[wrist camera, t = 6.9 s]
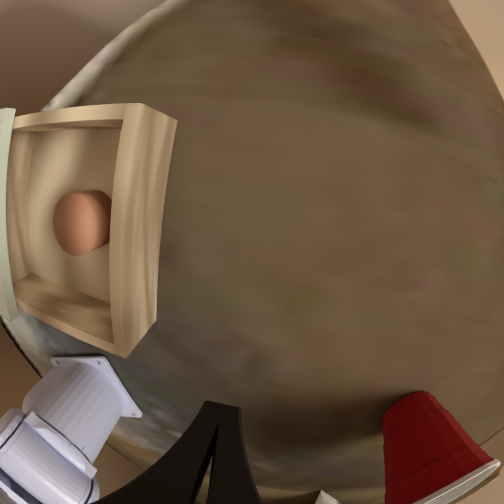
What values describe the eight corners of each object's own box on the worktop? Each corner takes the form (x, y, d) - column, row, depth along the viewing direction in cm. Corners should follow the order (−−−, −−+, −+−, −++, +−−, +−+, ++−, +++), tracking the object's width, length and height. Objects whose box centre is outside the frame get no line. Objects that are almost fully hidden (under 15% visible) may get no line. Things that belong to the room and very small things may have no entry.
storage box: (177, 120, 15) (140, 103, 10) (156, 319, 19) (126, 358, 14) (37, 124, 16) (-5, 121, 11) (33, 275, 20) (-2, 295, 15)
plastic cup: (374, 452, 22) (391, 534, 11) (342, 411, 20) (361, 527, 9) (456, 407, 20) (494, 481, 8) (447, 351, 18) (511, 446, 6)
